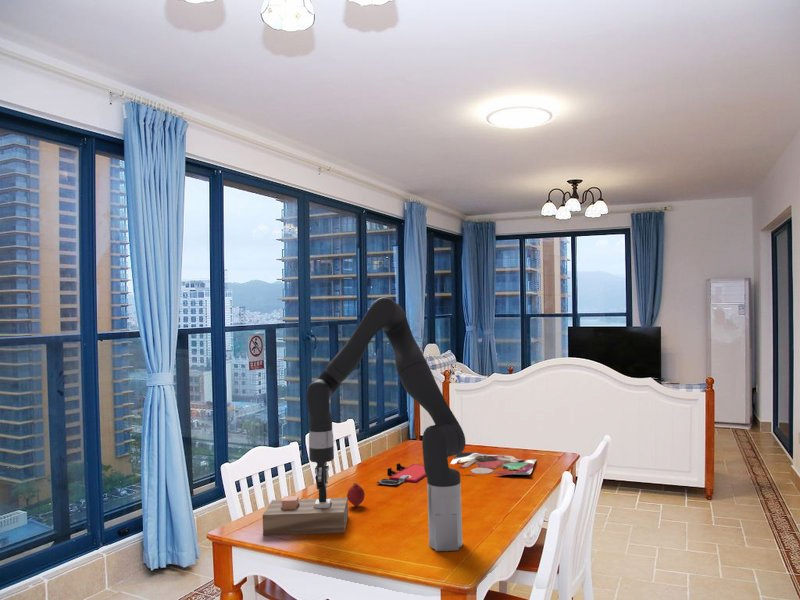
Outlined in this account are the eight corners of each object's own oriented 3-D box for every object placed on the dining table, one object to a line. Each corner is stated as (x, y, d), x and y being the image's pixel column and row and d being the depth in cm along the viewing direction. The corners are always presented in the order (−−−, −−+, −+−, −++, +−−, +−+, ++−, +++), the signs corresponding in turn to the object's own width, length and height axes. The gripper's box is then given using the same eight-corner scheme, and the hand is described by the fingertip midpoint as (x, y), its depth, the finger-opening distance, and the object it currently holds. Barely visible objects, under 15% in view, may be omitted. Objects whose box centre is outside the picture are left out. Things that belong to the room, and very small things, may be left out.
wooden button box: (344, 532, 180) (343, 512, 180) (263, 535, 180) (262, 514, 180) (348, 516, 194) (347, 497, 194) (272, 519, 194) (272, 500, 194)
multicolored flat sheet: (538, 458, 264) (537, 453, 264) (529, 480, 231) (529, 475, 231) (459, 454, 275) (459, 450, 275) (440, 475, 241) (440, 470, 241)
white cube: (329, 516, 185) (329, 503, 185) (315, 517, 185) (314, 503, 185) (331, 511, 189) (330, 498, 190) (316, 512, 189) (316, 499, 190)
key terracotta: (296, 513, 185) (296, 500, 185) (282, 514, 185) (281, 500, 185) (298, 508, 189) (298, 495, 189) (284, 509, 189) (284, 496, 189)
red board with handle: (371, 484, 230) (407, 489, 223) (371, 477, 230) (407, 481, 223) (404, 466, 257) (437, 470, 250) (404, 459, 257) (437, 463, 251)
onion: (356, 502, 208) (355, 479, 208) (368, 505, 205) (367, 481, 205) (344, 507, 204) (343, 483, 204) (356, 510, 200) (355, 485, 200)
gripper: (331, 449, 181) (332, 508, 181) (335, 439, 194) (337, 494, 194) (305, 450, 181) (307, 508, 181) (312, 440, 194) (313, 495, 194)
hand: (322, 501), depth 187 cm, fingers closed
